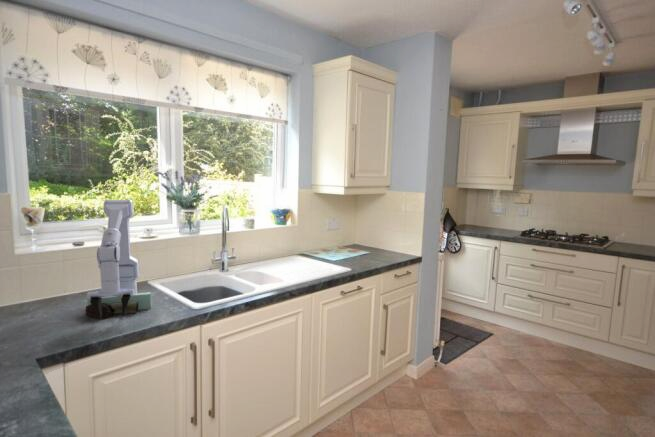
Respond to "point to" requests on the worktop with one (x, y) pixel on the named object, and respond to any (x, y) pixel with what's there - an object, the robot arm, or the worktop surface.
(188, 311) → the worktop surface
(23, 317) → the worktop surface
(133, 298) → the block
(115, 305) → the dark brown elongated lump
